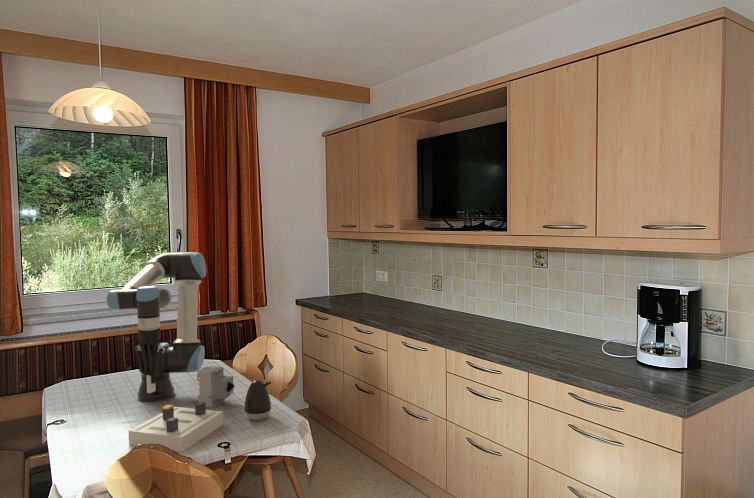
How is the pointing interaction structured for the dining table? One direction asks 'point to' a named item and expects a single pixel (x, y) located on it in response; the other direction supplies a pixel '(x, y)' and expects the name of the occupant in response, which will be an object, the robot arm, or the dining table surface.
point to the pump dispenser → (257, 401)
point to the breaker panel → (178, 428)
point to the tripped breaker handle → (168, 412)
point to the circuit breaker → (214, 386)
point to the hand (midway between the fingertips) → (151, 391)
